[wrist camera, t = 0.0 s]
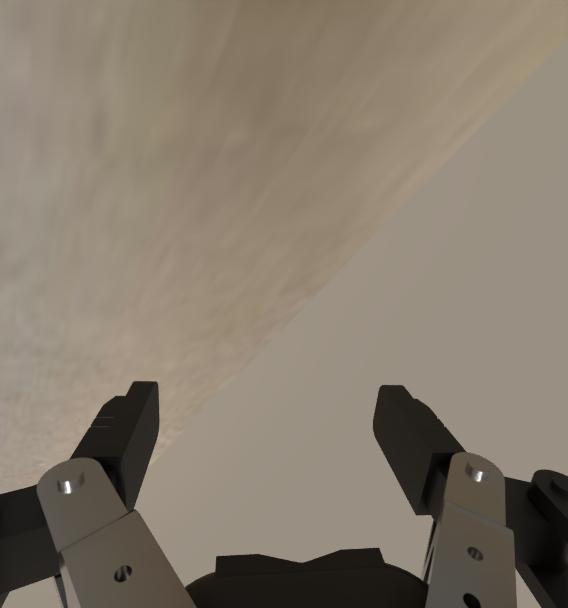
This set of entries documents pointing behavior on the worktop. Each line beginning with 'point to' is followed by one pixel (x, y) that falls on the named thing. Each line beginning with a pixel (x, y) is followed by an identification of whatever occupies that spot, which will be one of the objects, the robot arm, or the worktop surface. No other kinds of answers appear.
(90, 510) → the robot arm
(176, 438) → the worktop surface
